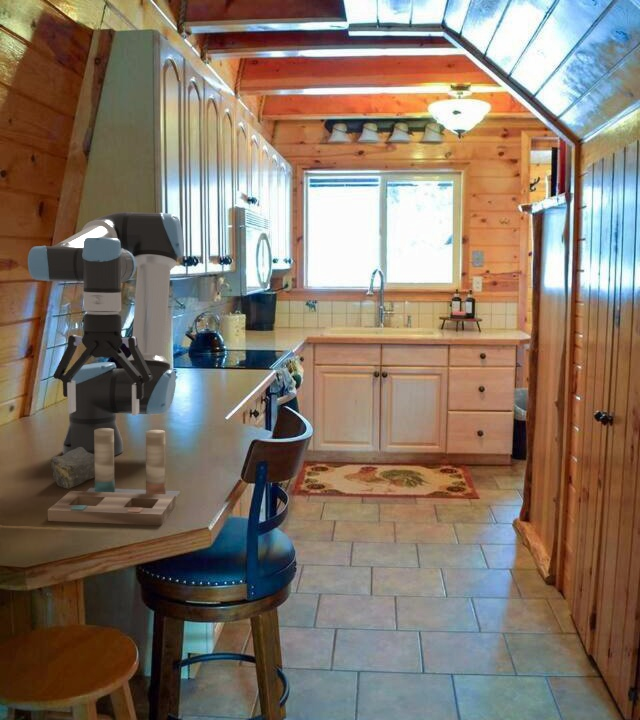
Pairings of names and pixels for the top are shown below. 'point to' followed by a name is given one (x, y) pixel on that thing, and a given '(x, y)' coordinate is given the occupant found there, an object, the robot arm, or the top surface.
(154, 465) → the peg
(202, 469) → the top surface
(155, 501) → the socket board
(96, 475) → the peg
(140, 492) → the mat
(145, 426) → the top surface
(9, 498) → the top surface
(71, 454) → the rock
